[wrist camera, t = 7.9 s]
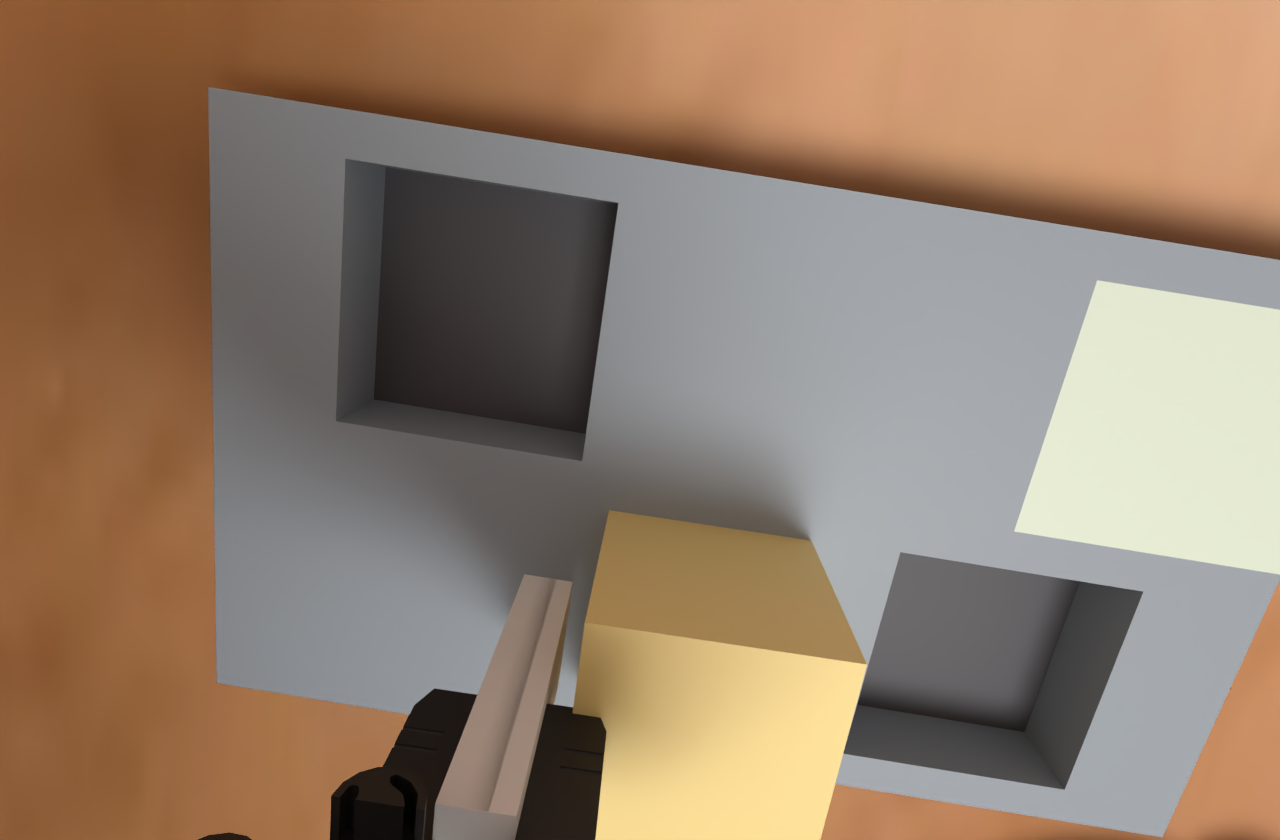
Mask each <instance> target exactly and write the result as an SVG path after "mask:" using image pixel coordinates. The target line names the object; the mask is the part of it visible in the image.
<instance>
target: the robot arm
mask: <svg viewBox="0 0 1280 840" xmlns="http://www.w3.org/2000/svg"><path fill="white" fill-rule="evenodd" d="M572 584H573V582H570V581H564V580H557V579H552V578H545V577H538V576H532V575H525V574H524V577H523V579H522V582H521V584H520V587H519V589H518V592H517V595H516V597H515V600H514V602H513V605H512V607H511V610H510V613H509V615H508V618H507V620H506V623H505V625H504V628H503V631H502V633H501V636H500V638H499V641H498V643H497V646H496V649H495V651H494V654H493V656H492V659H491V661H490V664H489V667H488V669H487V672H486V674H485V677H484V679H483V682H482V685H481V687H480V690H479V692H478V695H476V694H469V693H462V692H456V691H449V690H442V689H435V688H434V689H433V690H432V691H431V692H429V693H428V694H427V695H426V696H425V697H423V698H422V699H421V700H420V701H419V702H417V703H416V704H415V705H414V707H413V709H412V711H411V713H410V715H409V717H408V719H407V721H406V722H405V724H404V727H403V730H401V732H400V734H399V736H398V738H397V740H396V742H395V745H394V748H392V750H391V752H390V754H389V756H388V758H387V760H386V762H385V764H384V766H383V767H377V768H373V769H370V770H366V771H363V772H359V773H358V774H356V775H354V776H353V777H351V778H349V779H348V780H346V781H344V782H343V783H342V784H341V785H340V787H339V788H338V789H337V790H336V791H335V792H334V793H333V795H332V796H331V827H330V840H595V838H596V829H597V819H598V810H599V800H600V790H601V781H602V771H603V761H604V752H605V742H606V733H607V731H606V729H605V727H604V724H603V722H602V720H601V718H599V717H593V716H587V715H580V714H574V713H573V707H567V706H561V705H554V702H555V698H556V693H557V689H558V684H559V678H560V671H561V664H562V657H563V649H564V642H565V635H566V628H567V620H568V613H569V606H570V599H571V592H572ZM198 840H251V839H250V838H249V837H247V836H244V835H239V834H234V833H223V834H215V835H208V836H206V837H203V838H201V839H198Z"/></svg>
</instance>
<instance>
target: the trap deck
mask: <svg viewBox="0 0 1280 840" xmlns="http://www.w3.org/2000/svg"><path fill="white" fill-rule="evenodd" d="M208 101H209V172H210V242H211V313H212V383H213V454H214V524H215V595H216V665H217V683H219V684H225V685H231V686H238V687H244V688H250V689H256V690H262V691H268V692H274V693H280V694H287V695H293V696H299V697H305V698H311V699H317V700H323V701H329V702H336V703H342V704H348V705H354V706H360V707H366V708H372V709H379V710H385V711H391V712H397V713H403V714H409V715H410V713H411V711H412V709H413V707H414V705H415V704H416V703H417V702H419V701H420V700H421V699H422V698H423V697H425V696H426V695H427V694H428V693H429V692H431V691H432V690H433V689H434V688H435V689H442V690H449V691H456V692H462V693H469V694H476V695H478V692H479V690H480V687H481V685H482V682H483V679H484V677H485V674H486V672H487V669H488V667H489V664H490V661H491V659H492V656H493V654H494V651H495V649H496V646H497V643H498V641H499V638H500V636H501V633H502V631H503V628H504V625H505V623H506V620H507V618H508V615H509V613H510V610H511V607H512V605H513V602H514V600H515V597H516V595H517V592H518V589H519V587H520V584H521V582H522V579H523V577H524V574H525V575H532V576H538V577H545V578H552V579H557V580H564V581H570V582H573V584H572V592H571V599H570V606H569V613H568V620H567V628H566V635H565V642H564V649H563V657H562V664H561V671H560V678H559V684H558V689H557V693H556V698H555V702H554V705H561V706H567V707H573V705H574V698H575V691H576V683H577V676H578V669H579V661H580V654H581V647H582V639H583V632H584V625H585V619H586V615H587V610H588V605H589V601H590V596H591V591H592V587H593V582H594V577H595V573H596V568H597V564H598V559H599V554H600V550H601V545H602V540H603V536H604V531H605V527H606V522H607V517H608V513H609V510H611V511H618V512H624V513H631V514H638V515H644V516H651V517H658V518H664V519H671V520H678V521H684V522H691V523H698V524H704V525H711V526H718V527H724V528H731V529H738V530H744V531H751V532H758V533H764V534H771V535H778V536H784V537H791V538H798V539H804V540H811V541H812V543H813V545H814V547H815V550H816V552H817V554H818V556H819V559H820V561H821V563H822V565H823V568H824V570H825V572H826V574H827V576H828V579H829V581H830V583H831V585H832V588H833V590H834V592H835V594H836V596H837V599H838V601H839V603H840V605H841V608H842V610H843V612H844V614H845V616H846V619H847V621H848V623H849V625H850V628H851V630H852V632H853V634H854V636H855V639H856V641H857V643H858V645H859V648H860V650H861V652H862V654H863V657H864V659H865V661H866V663H867V667H866V671H865V674H864V678H863V682H862V686H861V689H860V693H859V697H858V701H857V704H856V708H855V712H854V715H853V719H852V723H851V727H850V730H849V734H848V738H847V742H846V745H845V749H844V753H843V756H842V760H841V764H840V768H839V771H838V775H837V779H836V783H835V784H838V785H844V786H851V787H857V788H863V789H869V790H875V791H881V792H887V793H894V794H900V795H906V796H912V797H918V798H924V799H930V800H936V801H943V802H949V803H955V804H961V805H967V806H973V807H979V808H985V809H992V810H998V811H1004V812H1010V813H1016V814H1022V815H1028V816H1035V817H1041V818H1047V819H1053V820H1059V821H1065V822H1071V823H1077V824H1084V825H1090V826H1096V827H1102V828H1108V829H1114V830H1120V831H1126V832H1133V833H1139V834H1145V835H1151V836H1157V837H1163V835H1164V832H1165V830H1166V828H1167V826H1168V824H1169V821H1170V819H1171V817H1172V815H1173V813H1174V810H1175V808H1176V806H1177V804H1178V802H1179V800H1180V797H1181V795H1182V793H1183V791H1184V789H1185V786H1186V784H1187V782H1188V780H1189V778H1190V775H1191V773H1192V771H1193V769H1194V767H1195V764H1196V762H1197V760H1198V758H1199V756H1200V753H1201V751H1202V749H1203V747H1204V745H1205V742H1206V740H1207V738H1208V736H1209V734H1210V731H1211V729H1212V727H1213V725H1214V723H1215V720H1216V718H1217V716H1218V714H1219V712H1220V709H1221V707H1222V705H1223V703H1224V701H1225V699H1226V696H1227V694H1228V692H1229V690H1230V688H1231V685H1232V683H1233V681H1234V679H1235V677H1236V674H1237V672H1238V670H1239V668H1240V666H1241V663H1242V661H1243V659H1244V657H1245V655H1246V652H1247V650H1248V648H1249V646H1250V644H1251V641H1252V639H1253V637H1254V635H1255V633H1256V630H1257V628H1258V626H1259V624H1260V622H1261V619H1262V617H1263V615H1264V613H1265V611H1266V608H1267V606H1268V604H1269V602H1270V600H1271V598H1272V595H1273V593H1274V591H1275V589H1276V587H1277V584H1278V582H1279V580H1280V260H1277V259H1271V258H1265V257H1259V256H1252V255H1246V254H1240V253H1234V252H1228V251H1221V250H1215V249H1209V248H1203V247H1197V246H1191V245H1184V244H1178V243H1172V242H1166V241H1160V240H1153V239H1147V238H1141V237H1135V236H1129V235H1122V234H1116V233H1110V232H1104V231H1098V230H1092V229H1085V228H1079V227H1073V226H1067V225H1061V224H1054V223H1048V222H1042V221H1036V220H1030V219H1023V218H1017V217H1011V216H1005V215H999V214H993V213H986V212H980V211H974V210H968V209H962V208H955V207H949V206H943V205H937V204H931V203H925V202H918V201H912V200H906V199H900V198H894V197H887V196H881V195H875V194H869V193H863V192H856V191H850V190H844V189H838V188H832V187H826V186H819V185H813V184H807V183H801V182H795V181H788V180H782V179H776V178H770V177H764V176H757V175H751V174H745V173H739V172H733V171H727V170H720V169H714V168H708V167H702V166H696V165H689V164H683V163H677V162H671V161H665V160H659V159H652V158H646V157H640V156H634V155H628V154H621V153H615V152H609V151H603V150H597V149H590V148H584V147H578V146H572V145H566V144H560V143H553V142H547V141H541V140H535V139H529V138H522V137H516V136H510V135H504V134H498V133H491V132H485V131H479V130H473V129H467V128H461V127H454V126H448V125H442V124H436V123H430V122H423V121H417V120H411V119H405V118H399V117H393V116H386V115H380V114H374V113H368V112H362V111H355V110H349V109H343V108H337V107H331V106H324V105H318V104H312V103H306V102H300V101H294V100H287V99H281V98H275V97H269V96H263V95H256V94H250V93H244V92H238V91H232V90H225V89H219V88H213V87H208Z"/></svg>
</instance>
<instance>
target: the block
mask: <svg viewBox="0 0 1280 840" xmlns="http://www.w3.org/2000/svg"><path fill="white" fill-rule="evenodd" d="M866 667H867V663H866V661H865V659H864V657H863V654H862V652H861V650H860V648H859V645H858V643H857V641H856V639H855V636H854V634H853V632H852V630H851V628H850V625H849V623H848V621H847V619H846V616H845V614H844V612H843V610H842V608H841V605H840V603H839V601H838V599H837V596H836V594H835V592H834V590H833V588H832V585H831V583H830V581H829V579H828V576H827V574H826V572H825V570H824V568H823V565H822V563H821V561H820V559H819V556H818V554H817V552H816V550H815V547H814V545H813V543H812V541H811V540H804V539H798V538H791V537H784V536H778V535H771V534H764V533H758V532H751V531H744V530H738V529H731V528H724V527H718V526H711V525H704V524H698V523H691V522H684V521H678V520H671V519H664V518H658V517H651V516H644V515H638V514H631V513H624V512H618V511H611V510H609V513H608V517H607V522H606V527H605V531H604V536H603V540H602V545H601V550H600V554H599V559H598V564H597V568H596V573H595V577H594V582H593V587H592V591H591V596H590V601H589V605H588V610H587V615H586V619H585V625H584V632H583V639H582V647H581V654H580V661H579V669H578V676H577V683H576V691H575V698H574V705H573V713H574V714H580V715H587V716H593V717H599V718H601V720H602V722H603V724H604V727H605V729H606V731H607V733H606V742H605V752H604V761H603V771H602V781H601V790H600V800H599V810H598V819H597V829H596V838H595V840H820V838H821V835H822V831H823V827H824V824H825V820H826V816H827V812H828V809H829V805H830V801H831V797H832V794H833V790H834V786H835V783H836V779H837V775H838V771H839V768H840V764H841V760H842V756H843V753H844V749H845V745H846V742H847V738H848V734H849V730H850V727H851V723H852V719H853V715H854V712H855V708H856V704H857V701H858V697H859V693H860V689H861V686H862V682H863V678H864V674H865V671H866Z"/></svg>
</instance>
